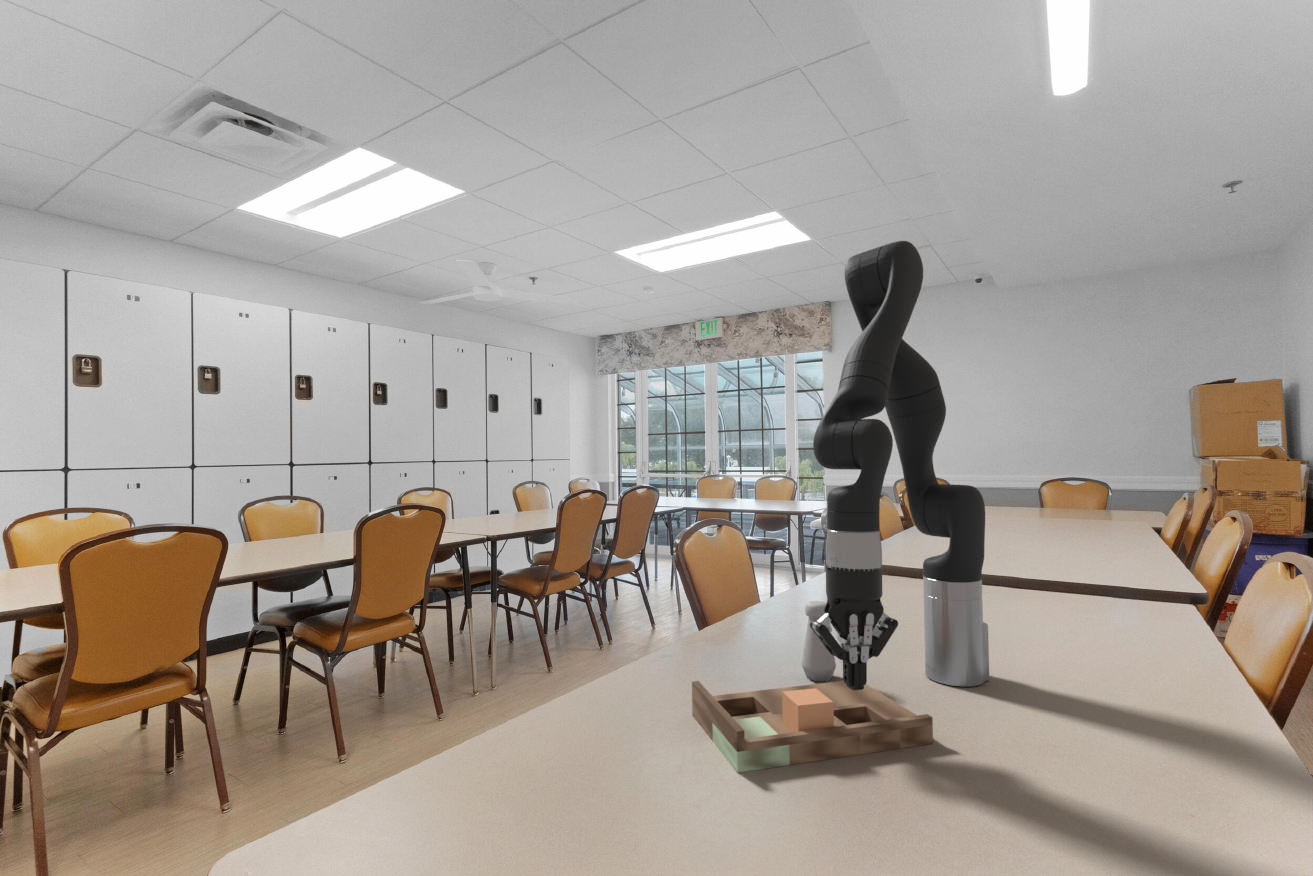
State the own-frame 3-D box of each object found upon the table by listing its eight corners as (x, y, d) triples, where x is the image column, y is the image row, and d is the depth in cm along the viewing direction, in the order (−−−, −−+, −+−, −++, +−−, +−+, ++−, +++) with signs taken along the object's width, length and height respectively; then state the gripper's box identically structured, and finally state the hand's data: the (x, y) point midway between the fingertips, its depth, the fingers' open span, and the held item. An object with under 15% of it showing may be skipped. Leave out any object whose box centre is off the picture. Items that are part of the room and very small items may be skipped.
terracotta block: (816, 717, 88) (815, 688, 88) (833, 732, 83) (833, 701, 83) (782, 721, 87) (782, 691, 87) (798, 737, 82) (797, 705, 82)
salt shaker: (837, 684, 107) (835, 606, 108) (802, 682, 109) (800, 605, 109) (834, 672, 113) (833, 599, 114) (801, 670, 114) (800, 598, 115)
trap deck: (857, 694, 103) (857, 663, 103) (933, 743, 85) (932, 705, 85) (692, 715, 96) (691, 681, 96) (737, 772, 78) (736, 731, 78)
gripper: (879, 556, 94) (881, 675, 93) (797, 560, 91) (798, 683, 90) (912, 564, 87) (913, 693, 86) (824, 568, 84) (825, 702, 83)
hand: (854, 688), depth 88 cm, fingers closed
